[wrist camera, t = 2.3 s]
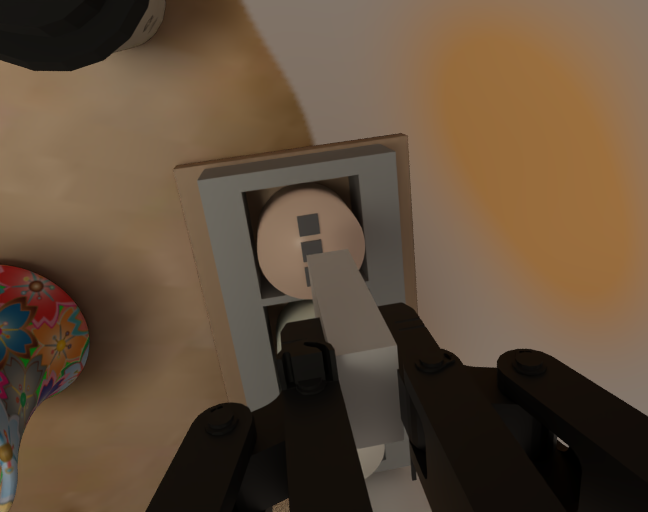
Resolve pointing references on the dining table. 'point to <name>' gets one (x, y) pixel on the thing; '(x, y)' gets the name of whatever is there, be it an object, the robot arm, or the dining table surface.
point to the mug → (33, 358)
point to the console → (242, 258)
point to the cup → (396, 491)
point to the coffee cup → (73, 30)
